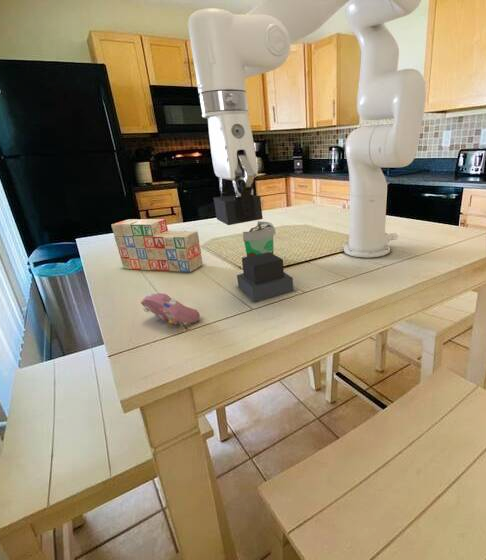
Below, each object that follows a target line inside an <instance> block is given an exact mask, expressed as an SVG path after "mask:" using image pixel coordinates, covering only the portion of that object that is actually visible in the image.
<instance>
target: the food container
mask: <svg viewBox="0 0 486 560" xmlns="http://www.w3.org/2000/svg"><path fill="white" fill-rule="evenodd" d="M256 221H257V224H256V226H254V227H251V229H250V230H249V231H242V241H243V242H244V247H245V255H246V257H248V256H253V255H257V254H262V253H267V252H270V253H272V254H274V235H275V234H277V233H276V232H277V231H276V229H275V226H274V224H273V223H272V222H269V221H261V220H256Z"/></svg>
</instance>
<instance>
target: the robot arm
mask: <svg viewBox="0 0 486 560" xmlns="http://www.w3.org/2000/svg"><path fill="white" fill-rule="evenodd" d="M421 2H422V0H263V1H262V2H260V3H259V4H257V5H256V6H255V7H253V8H252V9H251V10H249V11H248V12H247V13H244V14H240V13H239V14H238V13H237V14H236V13H232V12H231V11H229V10H227V9H222V8H217V7H208V8H202V9H201V8H200V9H198V10H195V11H194V12H192V13H191V14H190V16H189V18H188V22H187V27H188V35H189V42H190V47H191V54H192V60H193V67H194V73H195V80H196V86H197V93H198V99H199V104H200V112H201V117H202V119H207V128H208V138H209V147H210V154H211V162H212V167H213V173H214V174H215V176H216V177H217V178H218V183H219V192H220V197H222V196H229V195H236V196H237V197H234V199H235V206H236V214H237V219H238V220H239V221H243V220H249V219H254V218H255V208H254V199H253V195H255V194H254V193H255V192H254V188H253V187H254V180H255V178H256V177H257V176H258V173H259V172H258V171H259V170H258V163H257V156H256V150H255V149H256V148H255V142H254V135H253V131H252V126H251V123H250V118H249V115H250V113H249V103H248V94H247V87H246V86H247V84H246V79H249V78H251V77H254V76H259V75H262V74H267V73H269V72H272V71H275V70H277V69H279V68H280V67H281V66H283V65H284V64H285V63H286V61H287V60H288V57H289V55H290V52H291V44H293V43H295V42H298V41H300V40H302V39H305V38H306V37H308V36H309V35H311V34H313V33H315V32H316V31H317V30H319V29H320V28H321V27H322V26H323V25H324V24H325V23H326V22H327V21H328V20H329V19H330V18H332V17H334V15H335V14H336V13H338V11H340V9H341V8H343V7H344V13H345V17H346V20H347V22H348V24H349V26H350V27H351V29H352V32H353V33H354V35H355V37H356V39H357V42H358V45H359V49H360V68H359V69H360V70H359V77H358V87H357V96H356V110H357V114H358V115H359V117H360V118H361V119H363V120H366V121H381V120H382V121H383V120H391V119H393V123H387V124H374V125H373V124H372V125H365V126H360V127H357V128H355V129H353V130H352V131H351V132H350V133H349V135H348V136H347V138H346V140H345V144H344V145H345V146H344V149H345V151H344V152H345V157H346V158H345V159H346V162H347V163H346V164H347V167H348V169H347V170H348V178H349V180H348V184H349V187H348V188H349V197H348V199H349V203H348V205H349V208H348V209H349V210H348V211H349V213H348V217H349V218H348V219H349V220H348V223H349V224H348V231H349V232H348V238H349V239H348V243H346V244H344V246H343V252H344V253H345V254H346V255H348V256H351V257H354V258H355V257H356V258H365V259H366V258H367V259H368V258H369V259H370V258H371V259H372V258H379V257H383V256H386V255H388V254H389V253H390V252H391V246H390V245H389V244H388V243H389V242H390V241H395V240H397V239H398V234H397V232H392V233H387V232H386V219H387V218H386V217H387V216H386V215H387V197H388V183H387V179H386V176H385V174H384V172H383V170H382V168H387V169H388V168H394V169H395V168H404V167H407V166H409V165H410V164H412V163H413V161H414V160H415V158H416V155H417V153H418V148H419V144H420V143H419V142H420V137H421V131H422V124H423V120H424V113H425V107H426V99H427V88H426V82H425V81H426V80H425V79H424V76H423V74H422V73H421V72H420V71H419V70H417V69H415V68H403V69H398V68H399V67H398V66H399V59H400V58H399V57H400V49H399V44H398V43H397V40H396V38H395V37H394V35H393V34H392V33H391V31H390V30H389V28H388V27H387V26H386V24H385V23H388V22H391V21H395V20H398V19H401V18H404V17H406V16H409V15H411V14H412V13H414V12H415V11H416V10H417V9H418V7H419V6H420V4H421Z"/></svg>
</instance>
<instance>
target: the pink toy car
mask: <svg viewBox="0 0 486 560" xmlns="http://www.w3.org/2000/svg"><path fill="white" fill-rule="evenodd" d="M140 304H141V305H142V307H143V308H142V309H143V311H144V312H145V313H147V314H149V313H152V314H154V315H155V316H156V317H158V318H159V319H160V320H162V321H164V322H165V321H168V323H169V324H173V325H175V326H177V325H178V324H179V323H180V322H182V323H185V324H193V323H196V322H198V321H199V320H200V317H201V315H200V312H199V311H198V310H197V309H195V308H191V307H189V306H186V305H184V304H183V303H181V302H179V301H178V300H177V299H174V298H172V297H170V295H168V294H166V293H162V292H160V293H153V292H150V293H149V295H146V296H145V297H144V298H143V299H142V300H141V301H140Z"/></svg>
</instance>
